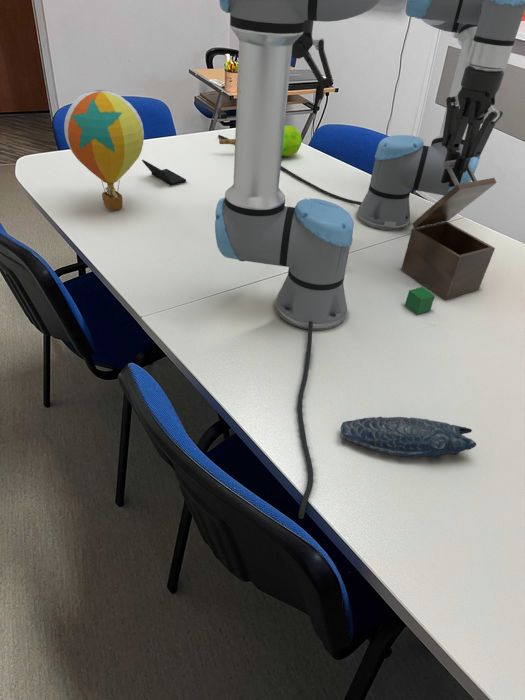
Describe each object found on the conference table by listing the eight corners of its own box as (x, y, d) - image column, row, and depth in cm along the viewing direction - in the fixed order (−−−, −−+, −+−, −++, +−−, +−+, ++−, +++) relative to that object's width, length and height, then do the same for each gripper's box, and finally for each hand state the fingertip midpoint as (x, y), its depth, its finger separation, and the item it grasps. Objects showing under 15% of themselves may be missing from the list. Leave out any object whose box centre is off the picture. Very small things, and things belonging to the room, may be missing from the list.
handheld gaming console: (190, 175, 164) (173, 153, 156) (179, 193, 163) (161, 172, 155) (166, 170, 170) (147, 148, 162) (155, 188, 169) (136, 167, 161)
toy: (64, 203, 145) (44, 85, 127) (127, 189, 156) (117, 79, 137) (97, 229, 134) (80, 105, 116) (162, 213, 145) (156, 96, 126)
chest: (478, 289, 125) (495, 248, 118) (444, 300, 120) (459, 257, 113) (434, 261, 135) (446, 221, 128) (400, 269, 130) (412, 228, 123)
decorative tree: (216, 119, 186) (297, 119, 192) (216, 149, 193) (294, 148, 198) (222, 134, 173) (309, 133, 178) (222, 165, 179) (306, 163, 185)
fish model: (474, 470, 81) (484, 449, 78) (339, 453, 82) (344, 431, 79) (465, 439, 86) (475, 417, 83) (339, 423, 87) (344, 401, 84)
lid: (496, 182, 114) (480, 150, 115) (459, 189, 109) (443, 156, 110) (448, 220, 128) (434, 191, 129) (413, 228, 123) (399, 198, 124)
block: (430, 310, 116) (435, 295, 114) (416, 314, 115) (421, 299, 112) (418, 301, 119) (422, 286, 116) (404, 305, 117) (409, 290, 115)
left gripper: (351, 16, 123) (337, 111, 137) (248, 5, 125) (244, 100, 139) (351, 20, 118) (336, 118, 131) (243, 8, 119) (238, 107, 133)
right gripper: (528, 74, 100) (486, 193, 114) (470, 59, 109) (438, 170, 124) (503, 76, 96) (463, 198, 111) (445, 60, 106) (415, 174, 121)
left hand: (288, 109), depth 135 cm, fingers open, 13 cm apart
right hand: (450, 183), depth 117 cm, fingers closed on lid, 2 cm apart
